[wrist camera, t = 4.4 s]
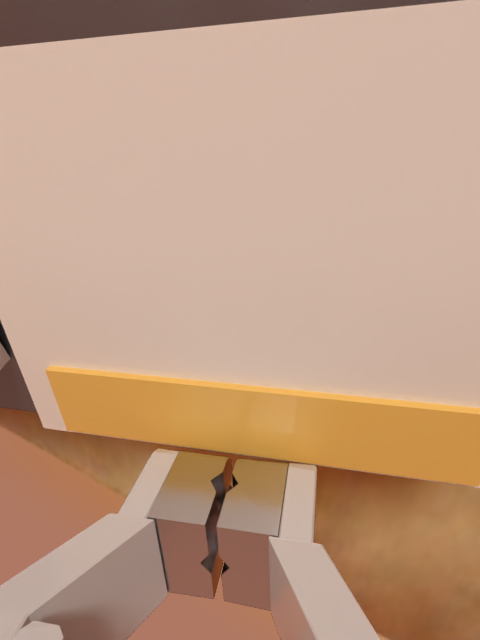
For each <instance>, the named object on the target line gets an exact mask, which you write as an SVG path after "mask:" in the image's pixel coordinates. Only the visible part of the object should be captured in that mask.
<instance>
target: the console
mask: <svg viewBox="0 0 480 640" xmlns="http://www.w3.org/2000/svg"><path fill="white" fill-rule="evenodd" d="M452 1H461V0H0V47H5V46H15V45H25V44H35V43H45V42H55V41H65V40H75V39H85V38H95V37H104V36H114V35H124V34H134V33H144V32H154V31H164V30H174V29H184V28H194V27H204V26H214V25H223V24H233V23H243V22H253V21H263V20H273V19H283V18H293V17H303V16H313V15H323V14H333V13H342V12H352V11H362V10H372V9H382V8H392V7H402V6H412V5H422V4H432V3H442V2H452ZM0 343H1V344H2V346H3V347H4V349H5V350H6V352H7V354H8V355H9V357H10V360H9V361H8V362H7V363H6V364H5V365H4V366H3V368H2V369H1V370H0V408H8V409H16V410H24V411H32V412H37V410H36V408H35V405H34V403H33V400H32V398H31V395H30V393H29V390H28V388H27V385H26V383H25V380H24V378H23V375H22V373H21V370H20V368H19V365H18V363H17V360H16V358H15V355H14V353H13V350H12V348H11V345H10V343H9V340H8V338H7V335H6V333H5V330H4V328H3V325H2V323H1V320H0Z"/></svg>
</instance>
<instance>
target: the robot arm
mask: <svg viewBox="0 0 480 640" xmlns="http://www.w3.org/2000/svg"><path fill="white" fill-rule="evenodd" d="M231 478H233V488H232V487H231V486H230V482H231ZM316 483H317V467H316V466H315V465H305V464H294V463H290V464H289V463H282V462H272V461H262V460H252V459H242V458H239V459H238V460H237V461H236V463H235V466H234V469H233V468H232V460H231V459H230V458H229V457H222V456H215V455H207V454H200V453H193V452H185V451H181V452H180V451H173V450H166V449H159V448H158V449H157V450H155V451H154V452H153V453H152V454H151V456H150V458H149V459H148V461H147V463H146V465H145V466H144V468H143V470H142V472H141V473H140V475H139V477H138V479H137V480H136V482H135V484H134V485H133V487H132V489H131V491H130V492H129V494H128V496H127V498H126V499H125V501H124V503H123V505H122V506H121V508H120V510H119V512H118V513H117V514H112V513H110V514H108V515H106V516H105V517H103V518H102V519H100V520H99V521H97V522H96V523H94V524H93V525H91V526H90V527H88V528H87V529H85V530H84V531H82V532H81V533H79V534H78V535H76V536H75V537H73V538H71V539H70V540H68V541H67V542H65V543H64V544H62V545H61V546H59V547H58V548H56V549H55V550H53V551H52V552H50V553H49V554H47V555H46V556H44V557H43V558H41V559H40V560H38V561H37V562H36V563H34V564H32V565H31V566H29V567H28V568H26V569H25V570H23V571H22V572H20V573H19V574H17V575H16V576H14V577H13V578H11V579H10V580H8V581H7V582H5V583H4V584H2V585H1V586H0V640H127V639H128V638H129V637H130V636H131V634H132V633H133V632H134V631H135V630H136V629H137V628H138V627H139V626H140V625H141V624H142V623H143V622H144V621H145V619H146V618H147V617H148V616H149V615H150V614H151V613H152V612H153V611H154V610H155V609H156V608H157V607H158V606H159V605H160V603H161V602H162V601H163V600H164V599H165V598H166V597H167V596H168V592H171V593H178V594H184V595H190V596H197V597H204V598H210V599H214V597H215V593H216V589H217V585H218V581H219V578H220V574H221V570H222V566H223V561H224V566H223V570H222V574H221V579H222V587H223V595H224V601H227V602H231V603H236V604H241V605H245V606H250V607H254V608H259V609H264V610H269V611H271V615H272V618H273V620H274V623H275V626H276V628H277V631H278V634H279V637H280V639H281V640H380V638H379V637H378V635H377V633H376V632H375V630H374V628H373V627H372V625H371V623H370V622H369V620H368V619H367V617H366V615H365V614H364V612H363V610H362V609H361V607H360V605H359V604H358V602H357V601H356V599H355V597H354V596H353V594H352V592H351V591H350V589H349V587H348V586H347V584H346V583H345V581H344V579H343V578H342V576H341V574H340V573H339V571H338V569H337V568H336V566H335V564H334V563H333V561H332V560H331V558H330V556H329V555H328V553H327V551H326V550H325V548H324V546H323V545H322V544H317V543H314V542H315V512H316Z"/></svg>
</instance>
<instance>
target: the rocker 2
mask: <svg viewBox="0 0 480 640" xmlns="http://www.w3.org/2000/svg"><path fill="white" fill-rule="evenodd" d="M0 320H1V323H2V325H3V328H4V330H5V333H6V335H7V338H8V340H9V343H10V345H11V348H12V350H13V353H14V355H15V358H16V360H17V363H18V365H19V368H20V370H21V373H22V375H23V378H24V380H25V383H26V385H27V388H28V390H29V393H30V395H31V398H32V400H33V403H34V405H35V408H36V410H37V412H38V415H39V417H40V420H41V422H42V425H43V427H44V428H47V429H54V430H61V431H69V432H76V433H83V434H90V435H98V436H105V437H112V438H120V439H127V440H134V441H141V442H149V443H156V444H163V445H170V446H178V447H185V448H192V449H200V450H207V451H214V452H221V453H229V454H236V455H243V456H251V457H258V458H265V459H272V460H280V461H287V462H294V463H301V464H309V465H316V466H323V467H331V468H338V469H345V470H352V471H360V472H367V473H374V474H382V475H389V476H396V477H403V478H411V479H418V480H425V481H432V482H440V483H447V484H454V485H462V486H469V487H476V488H480V0H461V1H452V2H442V3H432V4H422V5H412V6H402V7H392V8H382V9H372V10H362V11H352V12H342V13H333V14H323V15H313V16H303V17H293V18H283V19H273V20H263V21H253V22H243V23H233V24H223V25H214V26H204V27H194V28H184V29H174V30H164V31H154V32H144V33H134V34H124V35H114V36H104V37H95V38H85V39H75V40H65V41H55V42H45V43H35V44H25V45H15V46H5V47H0Z"/></svg>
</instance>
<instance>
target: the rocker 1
mask: <svg viewBox="0 0 480 640" xmlns="http://www.w3.org/2000/svg"><path fill="white" fill-rule="evenodd" d="M9 360H10V357H9V355H8V354H7V352H6V350H5V349H4V347H3V346H2V344H1V343H0V370H1V369H2V368H3V366H4V365H5V364H6V363H7V362H8V361H9Z"/></svg>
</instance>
